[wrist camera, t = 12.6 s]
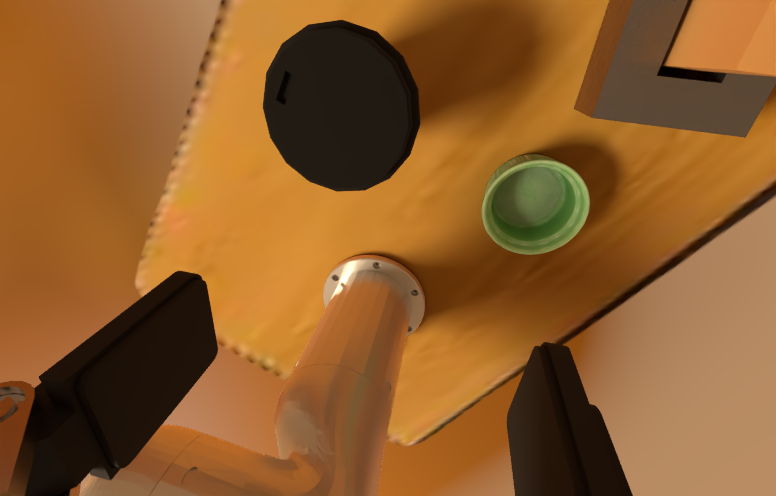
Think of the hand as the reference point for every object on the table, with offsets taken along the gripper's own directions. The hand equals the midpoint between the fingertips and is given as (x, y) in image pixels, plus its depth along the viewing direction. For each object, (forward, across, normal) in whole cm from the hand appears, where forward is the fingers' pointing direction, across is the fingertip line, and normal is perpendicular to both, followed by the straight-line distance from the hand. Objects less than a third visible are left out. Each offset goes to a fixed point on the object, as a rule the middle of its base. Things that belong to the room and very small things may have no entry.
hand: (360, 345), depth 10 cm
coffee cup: (+28, +6, -3) cm, 29 cm away
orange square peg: (+28, -17, -10) cm, 34 cm away
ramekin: (+29, -10, +4) cm, 31 cm away
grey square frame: (+28, -17, -10) cm, 34 cm away
